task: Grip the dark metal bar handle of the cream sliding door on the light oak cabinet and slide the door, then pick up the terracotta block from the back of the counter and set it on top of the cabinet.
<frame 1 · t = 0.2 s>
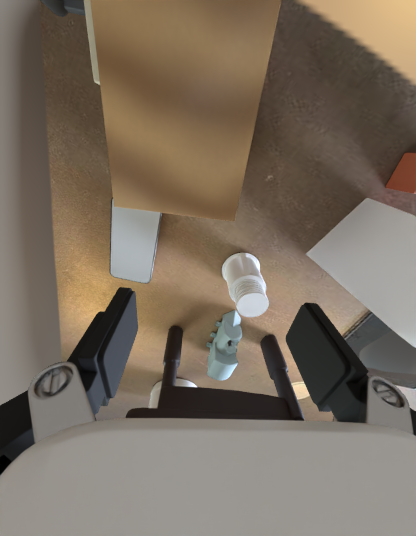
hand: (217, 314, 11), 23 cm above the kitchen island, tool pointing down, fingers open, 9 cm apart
closet door: (85, 32, 16), point 7 cm above the kitchen island, slide at 0.0 cm
block: (408, 173, 28), on the kitchen island
downlight: (240, 268, 36), on the kitchen island
bottle: (175, 389, 58), on the kitchen island
smartphone: (135, 242, 33), on the kitchen island
milk: (352, 245, 34), on the kitchen island
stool: (223, 332, 45), on the kitchen island
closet: (191, 118, 24), on the kitchen island
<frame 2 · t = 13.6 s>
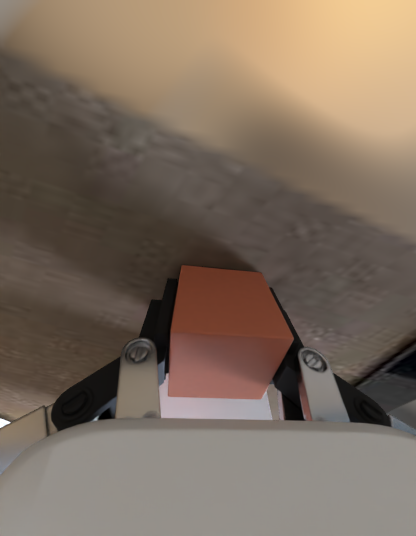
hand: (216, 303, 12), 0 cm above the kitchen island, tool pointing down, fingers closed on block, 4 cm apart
block: (216, 299, 12), on the kitchen island, touching gripper
milk: (175, 394, 18), on the kitchen island
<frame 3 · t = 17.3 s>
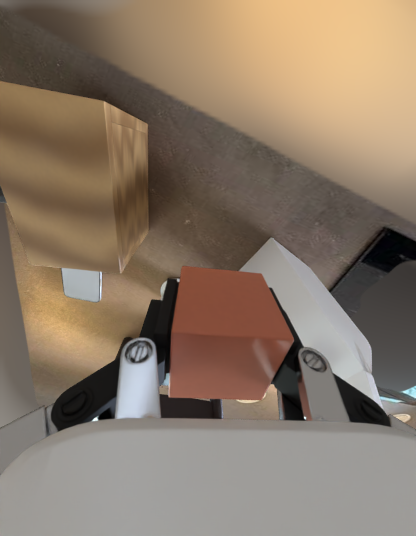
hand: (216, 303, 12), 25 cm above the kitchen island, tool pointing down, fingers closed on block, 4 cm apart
closet door: (32, 206, 26), point 7 cm above the kitchen island, slide at 7.5 cm
block: (216, 300, 12), point 25 cm above the kitchen island, touching gripper
smartphone: (83, 269, 39), on the kitchen island
milk: (269, 273, 41), on the kitchen island
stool: (172, 343, 52), on the kitchen island
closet: (116, 179, 31), on the kitchen island
when the fingers open (15 cm above the kitchen island, at t = 21.2 s): block stays where it is, resting on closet.
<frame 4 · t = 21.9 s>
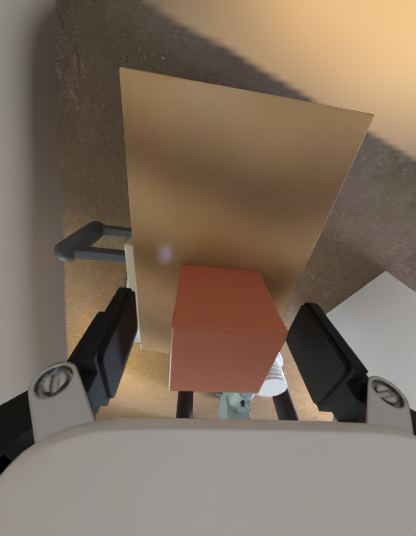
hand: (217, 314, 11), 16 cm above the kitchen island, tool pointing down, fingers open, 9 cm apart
closet door: (120, 253, 19), point 7 cm above the kitchen island, slide at 7.5 cm
block: (215, 297, 12), point 14 cm above the kitchen island, touching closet
downlight: (253, 330, 36), on the kitchen island
milk: (368, 309, 34), on the kitchen island
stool: (234, 383, 45), on the kitchen island
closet: (210, 208, 24), on the kitchen island
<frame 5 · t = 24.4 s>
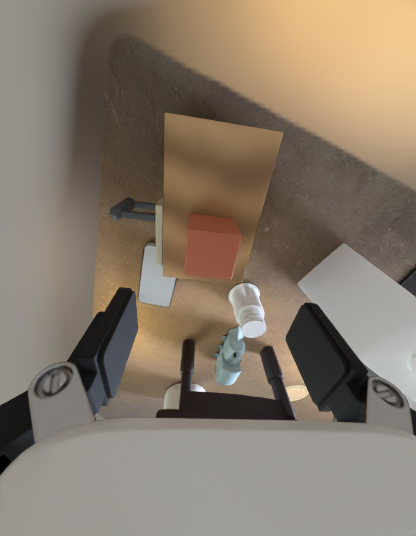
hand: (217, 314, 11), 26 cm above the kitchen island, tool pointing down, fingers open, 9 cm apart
closet door: (145, 220, 28), point 7 cm above the kitchen island, slide at 7.5 cm
block: (209, 236, 21), point 14 cm above the kitchen island, touching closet
downlight: (243, 294, 44), on the kitchen island
bottle: (186, 392, 66), on the kitchen island
smartphone: (159, 275, 41), on the kitchen island
milk: (334, 276, 43), on the kitchen island
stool: (228, 344, 54), on the kitchen island
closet: (207, 191, 32), on the kitchen island
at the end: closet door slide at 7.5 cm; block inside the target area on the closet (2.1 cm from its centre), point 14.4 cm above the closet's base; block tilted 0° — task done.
